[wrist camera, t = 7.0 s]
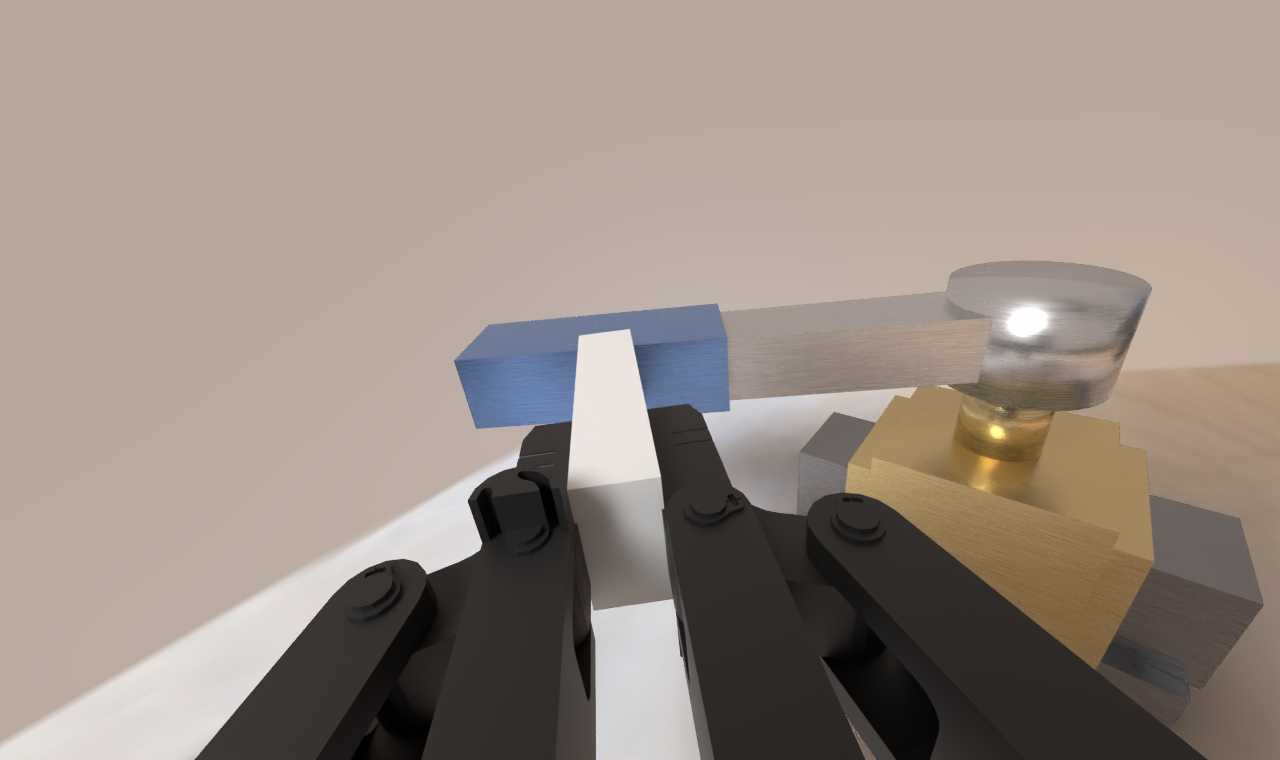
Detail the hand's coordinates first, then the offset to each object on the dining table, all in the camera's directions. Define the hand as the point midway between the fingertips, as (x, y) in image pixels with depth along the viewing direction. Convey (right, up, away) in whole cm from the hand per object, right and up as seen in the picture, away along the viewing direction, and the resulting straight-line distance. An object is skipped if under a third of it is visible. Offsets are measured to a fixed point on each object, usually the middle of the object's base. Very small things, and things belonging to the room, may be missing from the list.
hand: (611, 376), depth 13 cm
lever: (+5, -1, +2) cm, 6 cm away
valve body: (+14, -8, +6) cm, 17 cm away
